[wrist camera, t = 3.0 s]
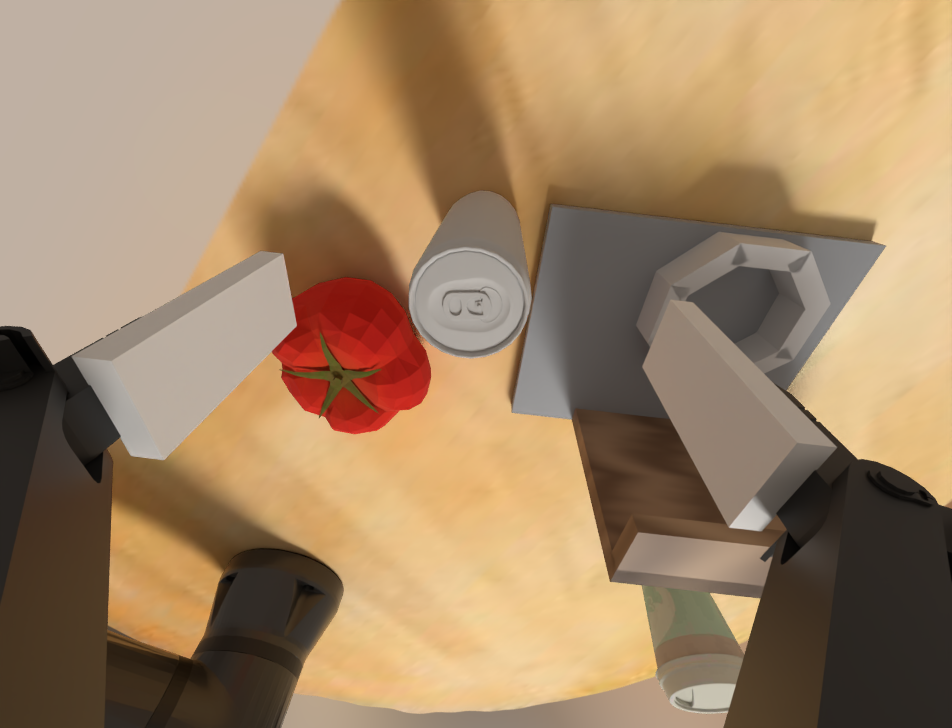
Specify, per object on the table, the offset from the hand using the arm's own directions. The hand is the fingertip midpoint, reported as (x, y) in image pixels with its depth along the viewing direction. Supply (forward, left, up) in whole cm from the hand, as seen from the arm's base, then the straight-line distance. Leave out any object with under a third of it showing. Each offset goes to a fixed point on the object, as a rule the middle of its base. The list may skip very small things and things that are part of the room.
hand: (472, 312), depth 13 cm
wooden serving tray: (+16, -12, -13) cm, 24 cm away
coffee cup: (+25, -35, -13) cm, 45 cm away
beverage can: (0, 0, -13) cm, 13 cm away
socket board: (+14, -6, -13) cm, 20 cm away
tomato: (-8, -9, -13) cm, 18 cm away
